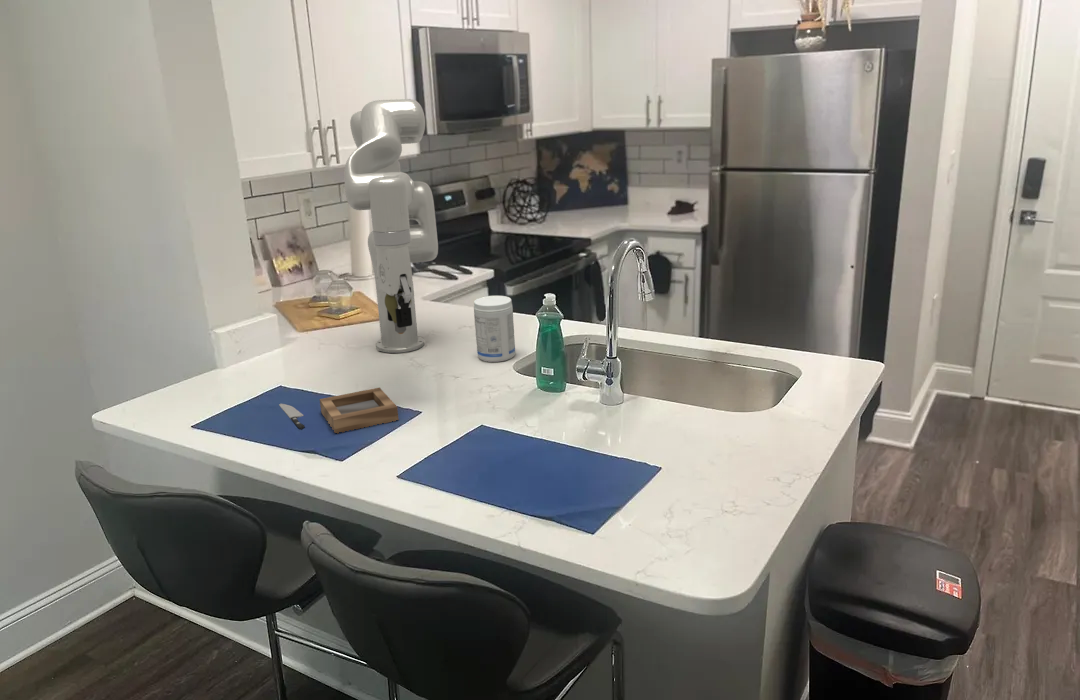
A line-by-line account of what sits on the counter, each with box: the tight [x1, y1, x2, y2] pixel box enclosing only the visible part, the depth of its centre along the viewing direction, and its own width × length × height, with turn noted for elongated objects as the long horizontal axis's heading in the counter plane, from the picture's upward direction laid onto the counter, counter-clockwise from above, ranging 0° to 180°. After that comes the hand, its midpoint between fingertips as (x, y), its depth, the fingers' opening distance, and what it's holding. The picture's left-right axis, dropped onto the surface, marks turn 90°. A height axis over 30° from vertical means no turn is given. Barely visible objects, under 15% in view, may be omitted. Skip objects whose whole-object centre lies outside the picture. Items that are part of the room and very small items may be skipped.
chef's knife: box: [278, 403, 305, 430], centre depth 171 cm, size 19×1×3 cm
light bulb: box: [385, 291, 412, 334], centre depth 171 cm, size 6×6×10 cm
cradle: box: [319, 387, 400, 434], centre depth 168 cm, size 13×13×3 cm
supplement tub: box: [473, 295, 516, 363], centre depth 200 cm, size 10×10×15 cm
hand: (400, 322), depth 171 cm, fingers closed on light bulb, 5 cm apart
